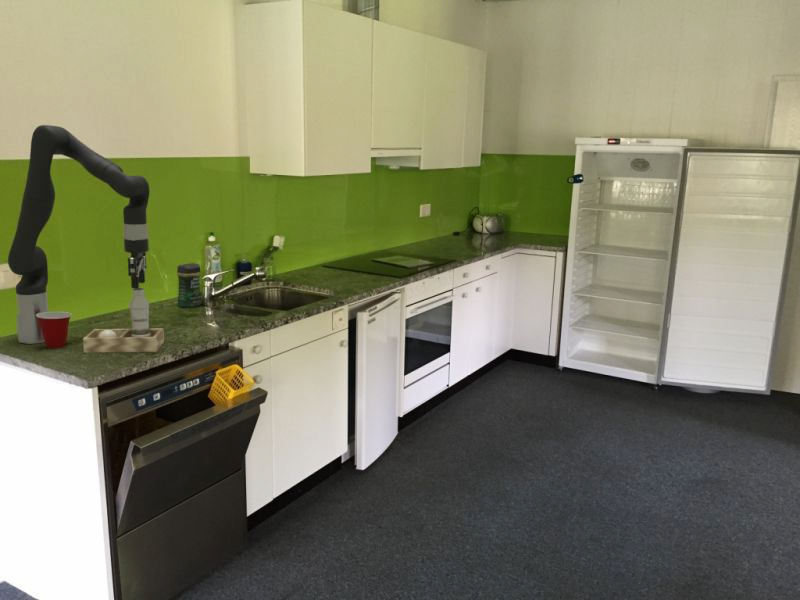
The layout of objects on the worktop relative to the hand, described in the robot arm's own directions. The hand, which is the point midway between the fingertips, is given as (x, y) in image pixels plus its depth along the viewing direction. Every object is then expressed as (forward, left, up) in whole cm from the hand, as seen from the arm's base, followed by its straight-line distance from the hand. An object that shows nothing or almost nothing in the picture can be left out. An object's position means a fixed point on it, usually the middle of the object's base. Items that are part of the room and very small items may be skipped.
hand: (138, 285), depth 225 cm
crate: (-6, 0, -22) cm, 23 cm away
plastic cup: (-29, +3, -22) cm, 36 cm away
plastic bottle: (0, 0, -22) cm, 22 cm away
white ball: (-11, 0, -21) cm, 24 cm away
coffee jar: (+5, +64, -22) cm, 68 cm away
